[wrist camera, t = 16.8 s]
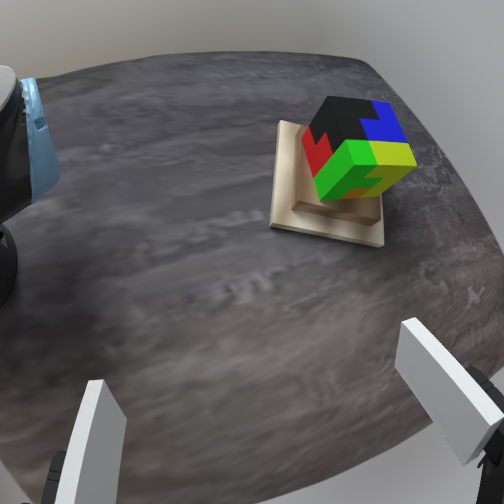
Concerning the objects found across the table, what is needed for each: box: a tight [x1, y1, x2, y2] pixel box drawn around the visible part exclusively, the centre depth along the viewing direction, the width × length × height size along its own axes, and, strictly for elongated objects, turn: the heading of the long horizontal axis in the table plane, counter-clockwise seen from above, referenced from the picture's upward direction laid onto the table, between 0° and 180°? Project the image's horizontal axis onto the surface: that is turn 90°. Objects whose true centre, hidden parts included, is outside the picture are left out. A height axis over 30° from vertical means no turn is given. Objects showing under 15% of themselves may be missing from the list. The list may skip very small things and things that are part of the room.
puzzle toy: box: [301, 96, 417, 201], centre depth 40 cm, size 10×10×10 cm
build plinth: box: [269, 120, 384, 247], centre depth 47 cm, size 18×18×4 cm
